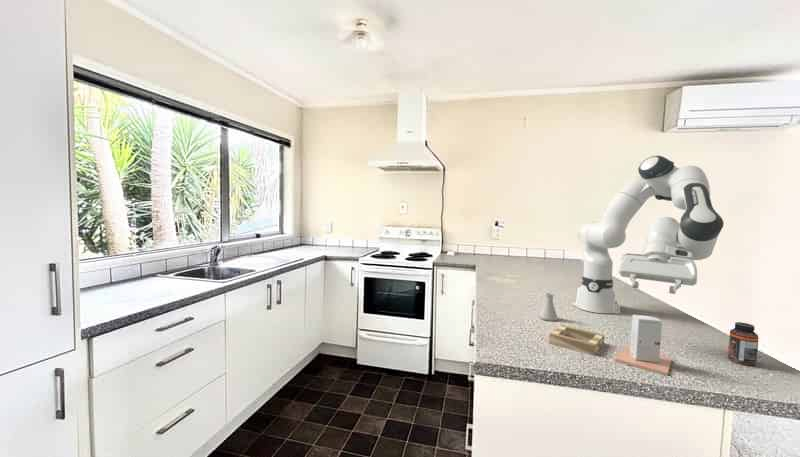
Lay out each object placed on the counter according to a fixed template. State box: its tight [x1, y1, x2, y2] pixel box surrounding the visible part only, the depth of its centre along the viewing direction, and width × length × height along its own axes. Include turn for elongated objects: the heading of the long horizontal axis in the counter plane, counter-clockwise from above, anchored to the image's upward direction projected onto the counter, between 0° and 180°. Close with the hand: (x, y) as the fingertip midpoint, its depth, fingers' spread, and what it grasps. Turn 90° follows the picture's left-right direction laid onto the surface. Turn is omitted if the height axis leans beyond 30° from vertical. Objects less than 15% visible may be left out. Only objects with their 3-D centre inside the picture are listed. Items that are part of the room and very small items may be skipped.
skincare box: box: [629, 314, 663, 362], centre depth 98 cm, size 6×4×12 cm
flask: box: [538, 293, 559, 322], centre depth 136 cm, size 7×7×10 cm
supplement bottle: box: [727, 321, 760, 367], centre depth 99 cm, size 6×6×11 cm
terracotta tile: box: [614, 346, 673, 377], centre depth 99 cm, size 13×12×1 cm
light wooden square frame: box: [548, 324, 605, 356], centre depth 111 cm, size 13×13×3 cm
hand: (653, 289), depth 106 cm, fingers open, 8 cm apart
